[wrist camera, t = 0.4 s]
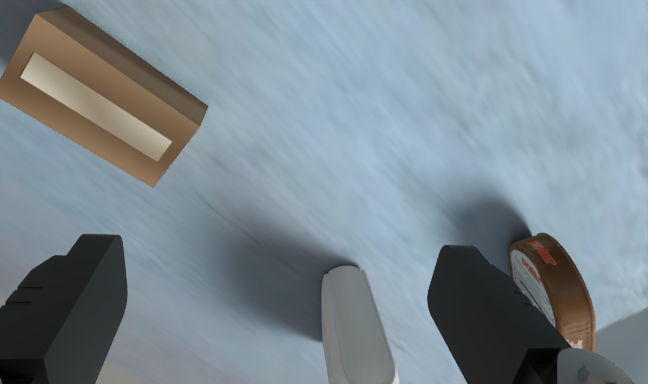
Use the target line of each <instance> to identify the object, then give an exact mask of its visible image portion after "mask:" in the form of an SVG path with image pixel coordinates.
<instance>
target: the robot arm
mask: <svg viewBox="0 0 648 384" xmlns="http://www.w3.org/2000/svg"><path fill="white" fill-rule="evenodd" d="M127 293H128V292H127V279H126V269H125V259H124V249H123V241H122V238H121V236H120V235H107V234H83V235H81V236H80V237H79V239H78V240H77V241H76V243H75V244H74V246H73V247H72V248H71V250H70V251H69V252H68V254H67V255H66V256H61V255H54V256H52V257H51V258H49V259H48V260H46V261H45V262H43V263H41V264H40V265H38V266H37V267H35V268H34V269H32V270H31V271H30V272H29V274H28V275H27V276H26V277H25V279H24V280H23V281H22V282H21V283H20V285H19V286H18V289H17V290H15V291H14V292H13V293H12V294H11V296H10V297H9V298H8V299H7V301H6V304H5V306H2V307H1V308H0V384H95V382H96V380H97V377H98V375H99V372H100V370H101V368H102V366H103V363H104V361H105V358H106V356H107V354H108V351H109V349H110V346H111V344H112V342H113V339H114V337H115V335H116V332H117V330H118V327H119V325H120V323H121V320H122V318H123V315H124V312H125V308H126V303H127ZM427 301H428V308H429V312H430V314H431V316H432V318H433V320H434V322H435V324H436V326H437V328H438V329H439V331H440V333H441V335H442V337H443V339H444V341H445V343H446V344H447V346H448V348H449V350H450V352H451V354H452V356H453V357H454V359H455V361H456V363H457V365H458V367H459V369H460V371H461V372H462V374H463V376H464V378H465V380H466V382H467V384H634V382H633V381H632V380H631V379H630V377H629V376H628V375H627V374H626V373H625V372H624V371H623V370H622V369H621V368H619V367H618V366H616V365H615V364H614V363H612V362H611V361H609V360H608V359H606V358H604V357H602V356H600V355H598V354H596V353H594V352H591V351H588V350H584V349H580V348H572V346H571V345H570V344H569V343H568V342H567V341H566V340H565V338H564V337H563V336H562V335H561V334H560V333H559V332H558V331H557V329H556V328H555V327H554V326H553V325H552V324H551V323H550V322H549V320H548V319H547V318H546V317H545V316H544V315H543V314H542V313H541V311H540V310H539V309H538V308H537V307H536V306H533V302H532V301H531V300H530V299H529V298H528V297H527V296H526V295H525V294H523V293H522V290H521V289H520V288H519V287H518V285H517V284H516V283H515V282H514V281H513V280H512V279H511V278H510V277H509V276H508V275H506V274H505V273H504V272H502V271H501V270H499V269H498V268H496V267H495V266H493V265H490V264H489V262H488V261H487V260H486V259H485V258H484V257H483V255H482V254H481V253H480V252H479V251H478V250H477V248H476V247H474V246H468V245H444V246H443V247H442V248H441V250H440V253H439V256H438V259H437V263H436V266H435V269H434V273H433V276H432V279H431V283H430V286H429V290H428V296H427Z"/></svg>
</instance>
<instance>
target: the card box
mask: <svg viewBox="0 0 648 384" xmlns="http://www.w3.org/2000/svg"><path fill="white" fill-rule="evenodd" d="M0 99H2V100H4V101H5V102H7V103H9V104H11V105H12V106H14V107H16V108H17V109H19V110H21V111H22V112H24V113H26V114H28V115H29V116H31V117H33V118H34V119H36V120H38V121H40V122H41V123H43V124H45V125H46V126H48V127H50V128H52V129H53V130H55V131H57V132H58V133H60V134H62V135H63V136H65V137H67V138H69V139H70V140H72V141H74V142H75V143H77V144H79V145H81V146H82V147H84V148H86V149H87V150H89V151H91V152H93V153H94V154H96V155H98V156H99V157H101V158H103V159H104V160H106V161H108V162H110V163H111V164H113V165H115V166H116V167H118V168H120V169H122V170H123V171H125V172H127V173H128V174H130V175H132V176H134V177H135V178H137V179H139V180H140V181H142V182H144V183H145V184H147V185H149V186H151V187H152V188H153V187H154V186H155V185H156V183H157V182H158V181H159V179H160V178H161V177H162V176H163V174H164V173H165V172H166V170H167V169H168V168H169V166H170V165H171V164H172V163H173V161H174V160H175V159H176V157H177V156H178V155H179V153H180V152H181V151H182V149H183V148H184V147H185V146H186V144H187V143H188V142H189V140H190V139H191V138H192V136H193V135H194V134H195V132H196V131H197V130H198V129H199V127H200V125H201V123H202V120H203V118H204V116H205V113H206V111H207V108H208V106H207V105H206V104H204V103H203V102H202V101H200V100H199V99H197V98H196V97H195V96H193V95H192V94H190V93H189V92H188V91H186V90H185V89H183V88H182V87H181V86H179V85H178V84H176V83H175V82H174V81H172V80H171V79H170V78H168V77H167V76H165V75H164V74H163V73H161V72H160V71H158V70H157V69H156V68H154V67H153V66H151V65H150V64H149V63H147V62H146V61H145V60H143V59H142V58H140V57H139V56H138V55H136V54H135V53H133V52H132V51H131V50H129V49H128V48H126V47H125V46H124V45H122V44H121V43H120V42H118V41H117V40H115V39H114V38H113V37H111V36H110V35H108V34H107V33H106V32H104V31H103V30H101V29H100V28H99V27H97V26H96V25H95V24H93V23H92V22H90V21H89V20H88V19H86V18H85V17H83V16H82V15H81V14H79V13H78V12H76V11H75V10H74V9H72V8H71V7H70V6H69V7H64V8H59V9H55V10H50V11H45V12H40V13H36V14H35V16H34V18H33V20H32V21H31V23H30V25H29V27H28V29H27V31H26V32H25V34H24V36H23V38H22V40H21V42H20V44H19V45H18V47H17V49H16V51H15V53H14V55H13V56H12V58H11V60H10V62H9V64H8V66H7V68H6V69H5V71H4V73H3V75H2V77H1V79H0Z"/></svg>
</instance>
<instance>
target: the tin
mask: <svg viewBox="0 0 648 384" xmlns="http://www.w3.org/2000/svg"><path fill="white" fill-rule="evenodd" d="M509 259H510V268H511V276H512V280H513V281H514V282H515V283H516V284H517V285H518V287H519V288H520V289H521V290H522V293H523V294H525V295H526V296H527V297H528V298H529V299H530V300H531V301H532V302H533V306H536V307H537V308H538V309H539V310H540V311H541V313H542V314H543V315H544V316H545V317H546V318H547V319H548V320H549V322H550V323H551V324H552V325H553V326H554V327H555V328H556V329H557V331H558V332H559V333H560V334H561V335H562V336H563V337H564V338H565V340H566V341H567V342H568V343H569V344H570V345H571V346H572V348H580V349H584V350H588V351H591V352H594V353H595V327H596V323H595V312H594V308H593V304H592V301H591V298H590V295H589V292H588V290H587V287H586V285H585V282H584V280H583V278H582V276H581V274H580V272H579V271H578V269H577V267H576V265H575V264H574V262H573V260H572V259H571V257H570V256H569V255H568V253H567V252H566V251H565V249H564V248H563V247H562V246H561V245H560V243H559V242H558V241H557V240H556V239H554V238H553V237H552V236H550V235H548V234H547V233H538V234H537V235H536V236H532V237H529V238H526V239H523V240H520V241H517V242H515V243H513V244H512V245H511V247H510V250H509Z"/></svg>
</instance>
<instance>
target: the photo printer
mask: <svg viewBox="0 0 648 384" xmlns="http://www.w3.org/2000/svg"><path fill="white" fill-rule="evenodd" d="M321 314H322V336H323V348H324V353H325V360H326V366H327V373H328V379H329V384H399V378H398V373H397V368H396V365H395V362H394V358H393V355H392V352H391V349H390V346H389V343H388V340H387V336H386V333H385V330H384V327H383V324H382V321H381V318H380V314H379V311H378V308H377V305H376V302H375V299H374V296H373V293H372V290H371V287H370V284H369V281H368V278H367V275H366V273H365V271H364V270H359V269H358V268H357V267H354V266H339V267H336V268H334V269H332V270H330V271H329V272H328V274H324V277H323V281H322V293H321Z"/></svg>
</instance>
